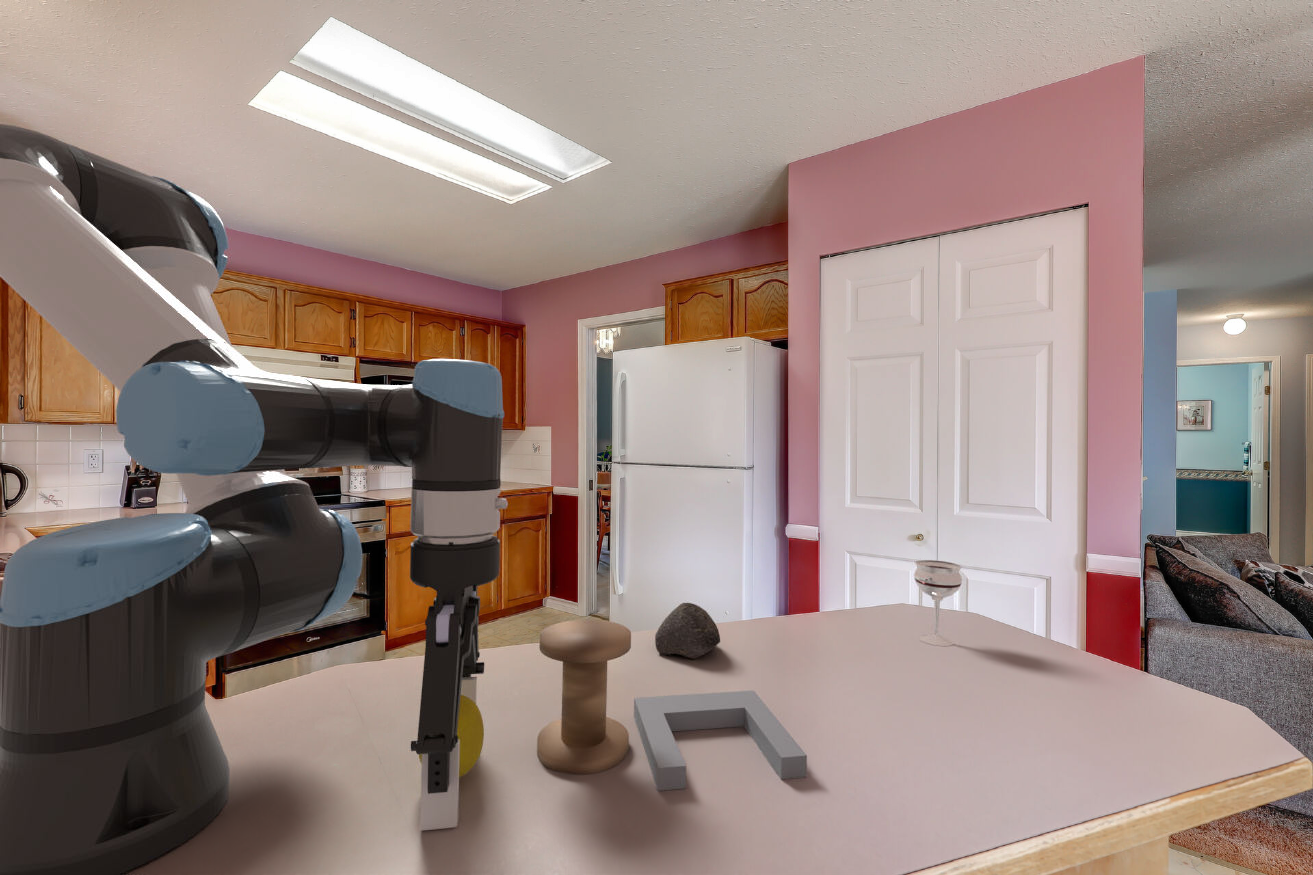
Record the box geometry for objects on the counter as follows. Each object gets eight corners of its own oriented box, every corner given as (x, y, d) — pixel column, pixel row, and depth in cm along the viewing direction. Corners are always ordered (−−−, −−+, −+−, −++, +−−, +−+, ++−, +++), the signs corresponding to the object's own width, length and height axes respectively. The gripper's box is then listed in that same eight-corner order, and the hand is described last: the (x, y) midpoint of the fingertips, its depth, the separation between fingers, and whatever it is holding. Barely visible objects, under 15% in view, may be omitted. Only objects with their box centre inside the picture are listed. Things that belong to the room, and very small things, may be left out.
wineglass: (959, 637, 94) (960, 562, 94) (961, 650, 88) (963, 571, 88) (912, 630, 97) (914, 558, 97) (912, 643, 91) (914, 566, 91)
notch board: (657, 790, 52) (658, 767, 52) (633, 715, 65) (634, 697, 65) (806, 776, 54) (806, 755, 54) (753, 707, 68) (753, 690, 68)
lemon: (462, 806, 49) (464, 710, 49) (403, 796, 50) (405, 702, 50) (493, 769, 54) (495, 683, 54) (439, 761, 55) (441, 676, 55)
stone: (658, 665, 90) (635, 634, 83) (686, 618, 94) (666, 584, 88) (712, 693, 84) (692, 661, 78) (740, 641, 88) (722, 607, 82)
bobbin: (536, 778, 53) (539, 652, 53) (537, 728, 62) (540, 621, 62) (634, 769, 55) (637, 647, 55) (622, 723, 64) (624, 618, 64)
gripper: (487, 564, 41) (481, 874, 41) (508, 516, 65) (503, 714, 65) (372, 566, 40) (366, 887, 40) (436, 517, 63) (431, 719, 63)
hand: (451, 780), depth 52 cm, fingers open, 12 cm apart
